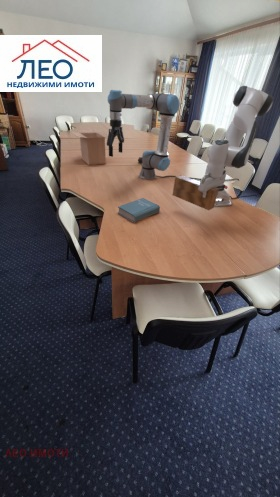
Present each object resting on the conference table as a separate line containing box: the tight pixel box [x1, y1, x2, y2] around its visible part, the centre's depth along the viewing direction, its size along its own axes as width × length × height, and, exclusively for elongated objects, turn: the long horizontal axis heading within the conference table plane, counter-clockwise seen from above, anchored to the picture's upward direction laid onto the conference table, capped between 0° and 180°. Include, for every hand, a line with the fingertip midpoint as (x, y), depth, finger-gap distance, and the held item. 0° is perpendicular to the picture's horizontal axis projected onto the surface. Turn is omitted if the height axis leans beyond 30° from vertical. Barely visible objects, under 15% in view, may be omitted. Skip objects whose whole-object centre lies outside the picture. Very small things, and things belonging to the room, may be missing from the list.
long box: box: [172, 174, 219, 211], centre depth 136 cm, size 28×6×12 cm, turn 44°
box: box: [70, 129, 109, 166], centre depth 229 cm, size 44×36×27 cm
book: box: [117, 197, 161, 223], centre depth 145 cm, size 23×16×5 cm
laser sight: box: [137, 156, 142, 165], centre depth 237 cm, size 10×22×10 cm, turn 78°
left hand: (115, 154), depth 154 cm, fingers open, 13 cm apart
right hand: (207, 195), depth 131 cm, fingers closed on long box, 6 cm apart
